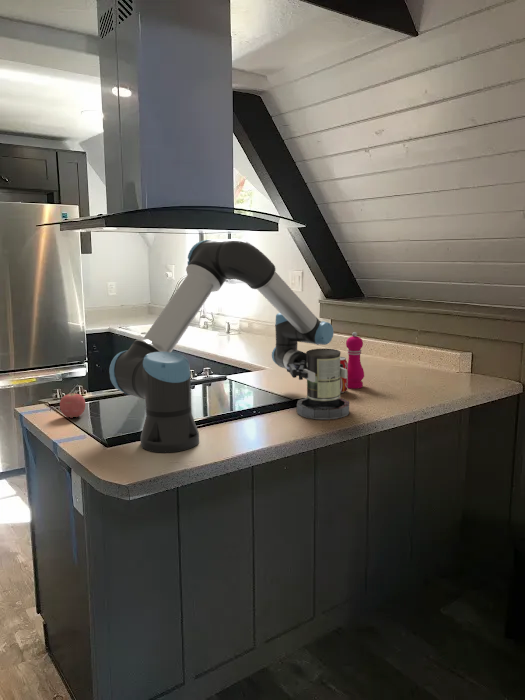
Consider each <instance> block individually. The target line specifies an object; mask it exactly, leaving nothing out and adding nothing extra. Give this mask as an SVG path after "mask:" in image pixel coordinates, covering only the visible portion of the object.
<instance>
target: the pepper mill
mask: <svg viewBox="0 0 525 700" xmlns="http://www.w3.org/2000/svg"><path fill="white" fill-rule="evenodd" d="M345 346H346V348H347V353H346V354H348V361H347V363H348V386H347V389H354V390H355V389H361V388H363V386H364V382H363V381H362V380H363V379H364V378H365V371H364V367H363V366H362V363H361V354H362V348H363V346H364V341H363V339H362V338H361V337H359V336H358V333H357V332H356V331H354V332H352V333H351V336H349V337H348V338H347V340H346V342H345Z"/></svg>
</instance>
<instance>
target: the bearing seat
mask: <svg viewBox="0 0 525 700" xmlns="http://www.w3.org/2000/svg"><path fill="white" fill-rule="evenodd" d="M296 413H297V415H299V416H301V417H303V418H305V419H310V420H315V421H316V420H319V421H331V420H330V419H333V420H338V418H340V419H343V418H345V416H346V417H347V416H349V414H350V401H349V400H347V399H345V398H341V397H340V398H339V399H336V400H332V401H315V400H311V399H309V398H307V397H304V398H301V399H298V400H297V403H296ZM342 417H343V418H342Z"/></svg>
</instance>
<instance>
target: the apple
mask: <svg viewBox="0 0 525 700" xmlns="http://www.w3.org/2000/svg"><path fill="white" fill-rule="evenodd" d="M59 410H60V412H61V413H62V414H63V415H64V416H65V417H66V418H69V417H70V418H71V419H74V418H73V417H76V418H78V417H80V416H81V415H82V414H84V412H85V410H86V399H85V398H84V396H83V395H82V394H79V393H73V392H71V393H67V394H66V395H63V396H62V397H61V398H60V401H59Z"/></svg>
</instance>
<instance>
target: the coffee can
mask: <svg viewBox="0 0 525 700" xmlns="http://www.w3.org/2000/svg"><path fill="white" fill-rule="evenodd" d="M305 353H306V355H307V370H309V371H312V372H314V373H315V382H311V381H309V380H307V379H306V386H307V387H306V398H309V399H311V400H315V401H332V400H336V399H339V398H341V393H340V357H341V354H342V353H341V351H340V350H338V349H335V348H314V349H309V350H307V351H306V352H305Z"/></svg>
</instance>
